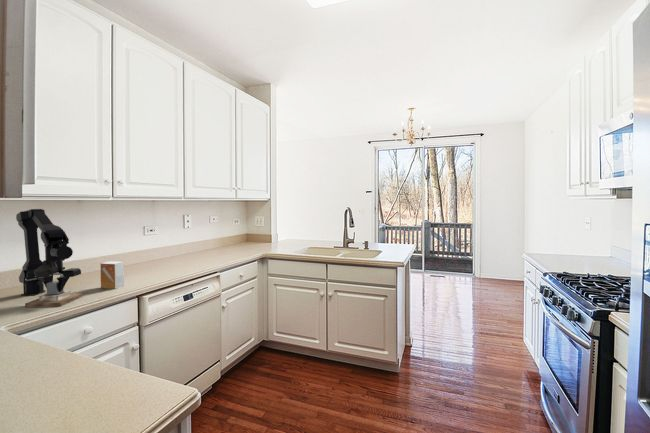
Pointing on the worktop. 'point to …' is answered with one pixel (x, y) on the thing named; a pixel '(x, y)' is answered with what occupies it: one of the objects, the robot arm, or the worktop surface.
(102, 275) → the small box
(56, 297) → the holder board
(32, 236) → the robot arm
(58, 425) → the worktop surface
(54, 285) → the steel pin
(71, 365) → the worktop surface
